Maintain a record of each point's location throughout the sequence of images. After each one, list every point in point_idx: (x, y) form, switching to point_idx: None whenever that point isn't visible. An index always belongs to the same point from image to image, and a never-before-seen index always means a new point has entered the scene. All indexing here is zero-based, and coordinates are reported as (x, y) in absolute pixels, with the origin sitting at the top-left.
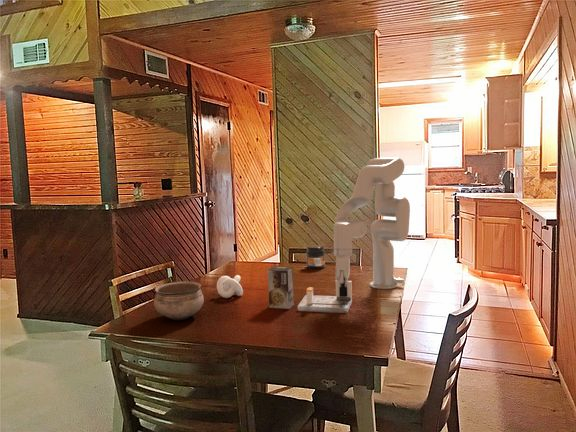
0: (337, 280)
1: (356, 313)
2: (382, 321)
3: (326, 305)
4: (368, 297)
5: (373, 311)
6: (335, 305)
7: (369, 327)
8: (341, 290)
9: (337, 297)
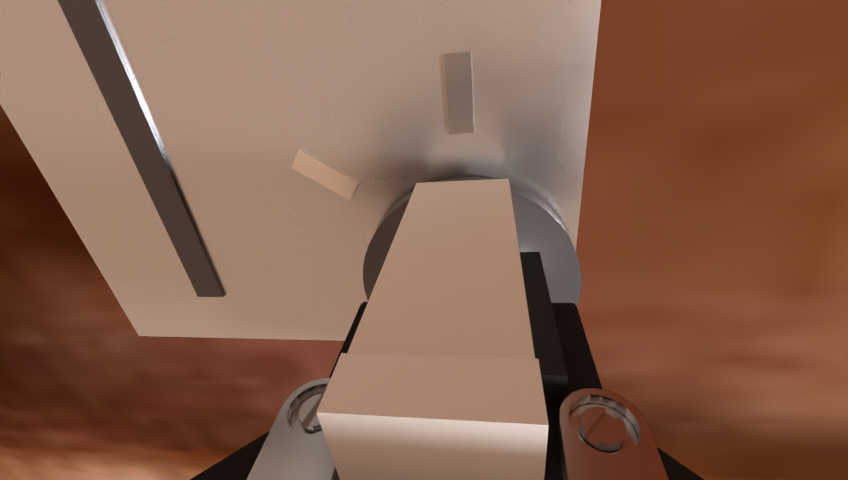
0: (484, 463)
1: (208, 359)
2: (156, 472)
3: (68, 101)
4: (718, 427)
5: None
6: (143, 215)
7: (25, 423)
8: (344, 352)
9: (395, 208)
